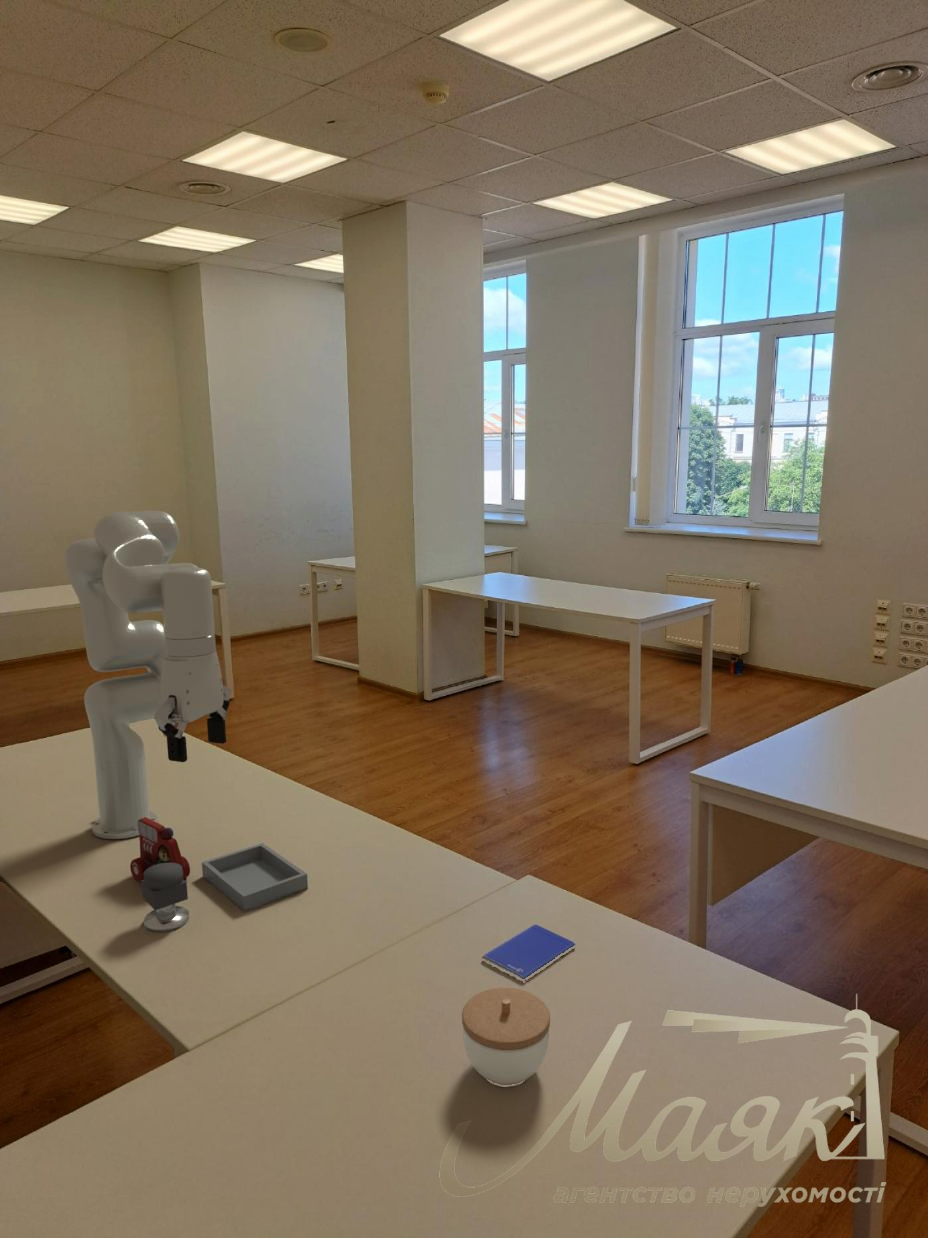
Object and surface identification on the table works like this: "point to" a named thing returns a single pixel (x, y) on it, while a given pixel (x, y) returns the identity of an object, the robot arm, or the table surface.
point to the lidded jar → (506, 1034)
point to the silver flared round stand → (166, 919)
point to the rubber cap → (164, 885)
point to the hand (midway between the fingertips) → (198, 751)
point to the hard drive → (528, 951)
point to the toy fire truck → (156, 849)
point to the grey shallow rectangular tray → (254, 876)
